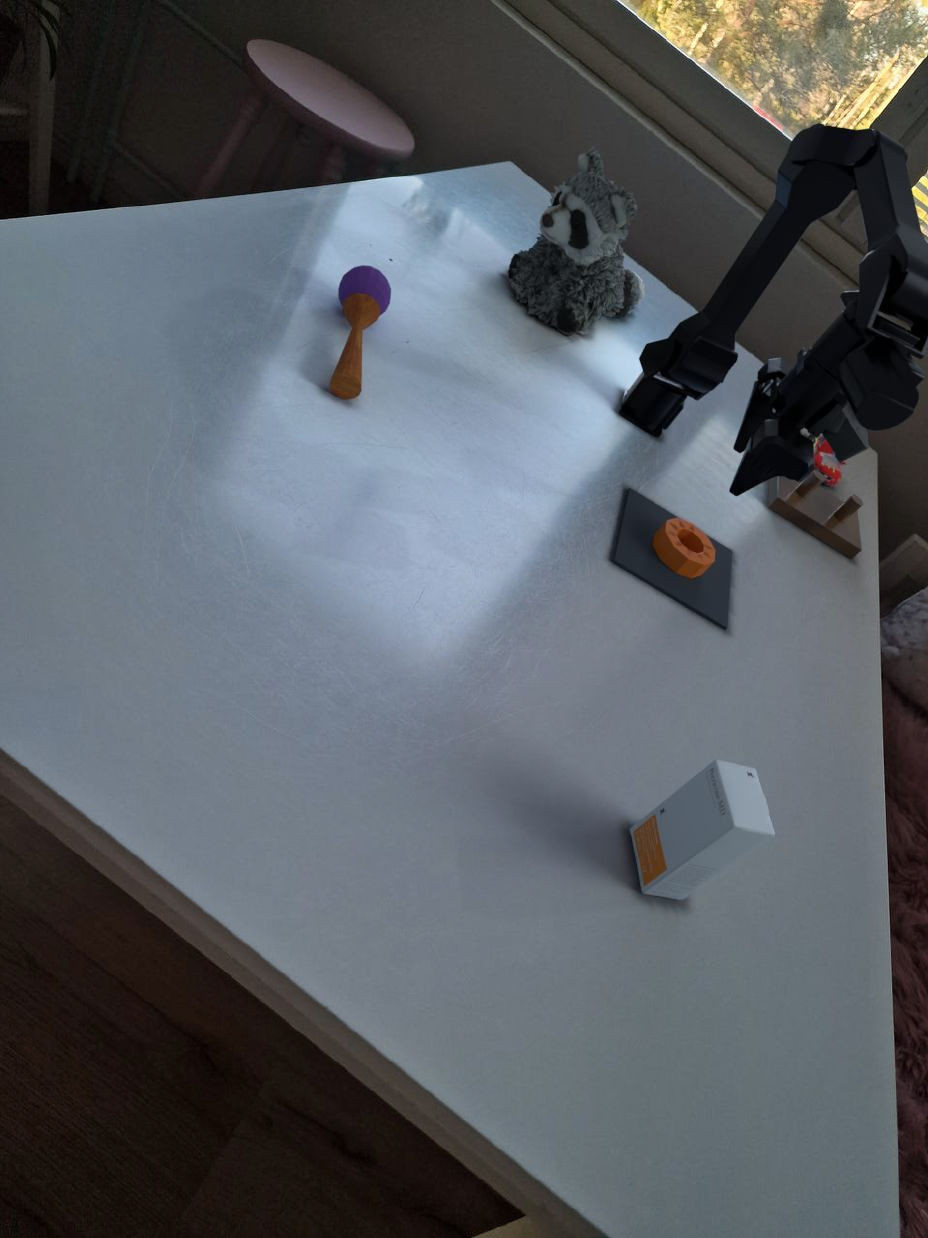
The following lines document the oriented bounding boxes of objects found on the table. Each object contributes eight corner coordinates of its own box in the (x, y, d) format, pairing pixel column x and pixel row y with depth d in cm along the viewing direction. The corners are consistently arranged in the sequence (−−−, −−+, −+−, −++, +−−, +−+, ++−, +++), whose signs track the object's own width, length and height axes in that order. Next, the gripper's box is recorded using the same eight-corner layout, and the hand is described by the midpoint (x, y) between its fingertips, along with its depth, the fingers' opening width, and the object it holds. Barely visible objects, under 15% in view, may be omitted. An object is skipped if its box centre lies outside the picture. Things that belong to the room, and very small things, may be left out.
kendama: (322, 355, 99) (347, 248, 112) (312, 401, 104) (337, 293, 116) (380, 371, 100) (398, 263, 113) (367, 415, 105) (387, 307, 118)
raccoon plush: (470, 281, 134) (550, 136, 120) (570, 248, 158) (647, 124, 144) (553, 353, 132) (645, 216, 118) (642, 309, 156) (727, 190, 142)
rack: (768, 507, 134) (795, 478, 130) (768, 469, 141) (794, 441, 138) (851, 559, 136) (880, 533, 132) (847, 519, 143) (875, 493, 140)
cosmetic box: (626, 828, 84) (714, 755, 76) (667, 837, 86) (757, 766, 78) (639, 896, 80) (733, 826, 72) (682, 903, 82) (778, 836, 74)
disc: (650, 557, 111) (663, 543, 110) (656, 522, 117) (668, 508, 115) (700, 588, 112) (713, 574, 111) (703, 552, 118) (716, 538, 116)
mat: (612, 562, 108) (614, 559, 108) (627, 489, 119) (629, 487, 119) (725, 630, 110) (727, 627, 110) (730, 552, 121) (732, 550, 121)
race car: (831, 495, 146) (850, 476, 143) (801, 474, 145) (820, 455, 143) (833, 453, 156) (851, 435, 153) (805, 434, 155) (823, 415, 153)
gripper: (903, 452, 95) (792, 557, 105) (889, 366, 109) (793, 466, 119) (809, 390, 93) (706, 502, 104) (807, 311, 107) (717, 416, 117)
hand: (734, 471), depth 111 cm, fingers open, 9 cm apart
